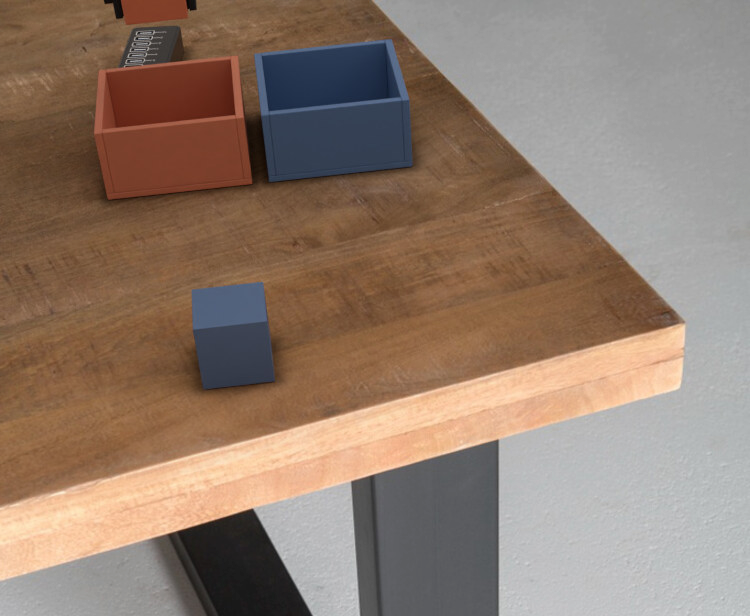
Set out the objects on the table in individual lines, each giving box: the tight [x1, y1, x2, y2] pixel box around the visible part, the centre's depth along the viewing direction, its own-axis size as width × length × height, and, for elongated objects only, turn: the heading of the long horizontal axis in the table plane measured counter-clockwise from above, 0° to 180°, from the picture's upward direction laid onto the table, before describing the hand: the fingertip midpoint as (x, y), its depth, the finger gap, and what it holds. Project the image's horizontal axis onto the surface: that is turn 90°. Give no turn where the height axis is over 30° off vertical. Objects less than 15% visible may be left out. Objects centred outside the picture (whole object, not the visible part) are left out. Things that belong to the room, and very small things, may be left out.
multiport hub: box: [117, 25, 185, 68], centre depth 122 cm, size 4×14×2 cm, turn 178°
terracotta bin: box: [93, 55, 253, 201], centre depth 111 cm, size 11×11×6 cm
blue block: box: [191, 281, 276, 391], centre depth 90 cm, size 5×5×5 cm
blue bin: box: [253, 38, 414, 183], centre depth 112 cm, size 11×11×6 cm
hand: (156, 5), depth 105 cm, fingers closed on terracotta block, 4 cm apart
